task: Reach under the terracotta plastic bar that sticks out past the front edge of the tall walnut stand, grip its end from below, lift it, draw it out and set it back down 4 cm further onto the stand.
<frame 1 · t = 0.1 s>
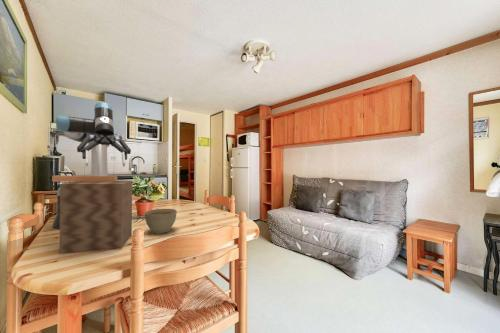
hand: (106, 164, 94), 36 cm above the table, tool tilted 35°, fingers open, 13 cm apart
planter bowl: (160, 231, 116), on the table
walnut stand: (99, 243, 98), on the table
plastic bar: (86, 181, 99), point 28 cm above the table, touching walnut stand
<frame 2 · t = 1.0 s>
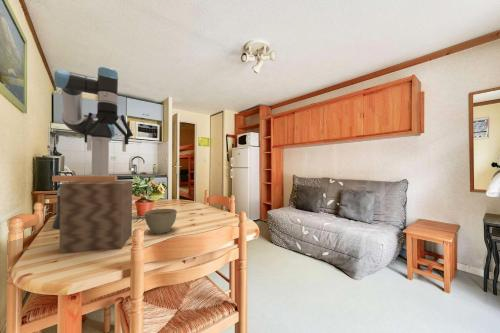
hand: (107, 151, 96), 42 cm above the table, tool pointing down, fingers open, 13 cm apart
nothing on the table moved.
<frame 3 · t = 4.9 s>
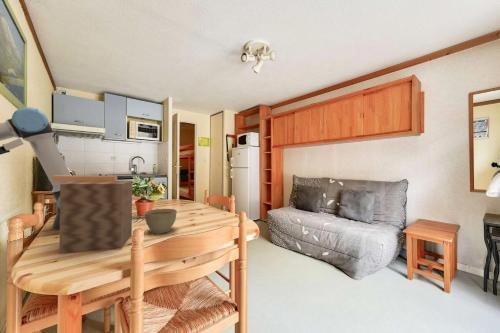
hand: (9, 139, 91), 46 cm above the table, tool pointing upward, fingers open, 13 cm apart
nothing on the table moved.
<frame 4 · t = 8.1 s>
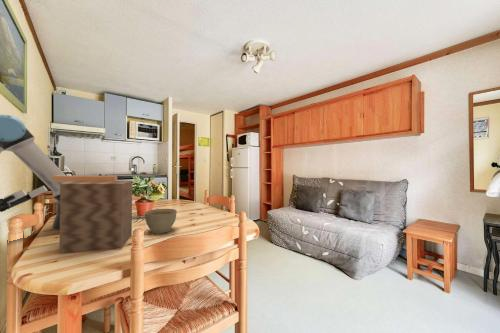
hand: (35, 190, 94), 24 cm above the table, tool pointing upward, fingers open, 13 cm apart
nothing on the table moved.
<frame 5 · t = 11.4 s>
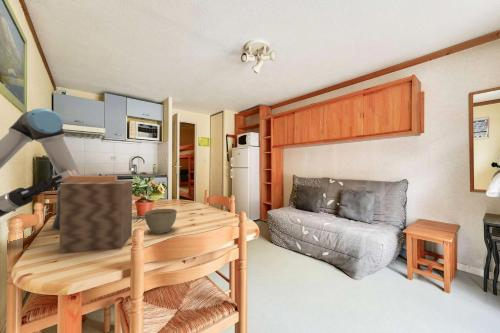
hand: (72, 172, 97), 32 cm above the table, tool pointing upward, fingers closed on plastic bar, 4 cm apart
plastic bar: (86, 181, 99), point 28 cm above the table, touching gripper, walnut stand
everything else where it was.
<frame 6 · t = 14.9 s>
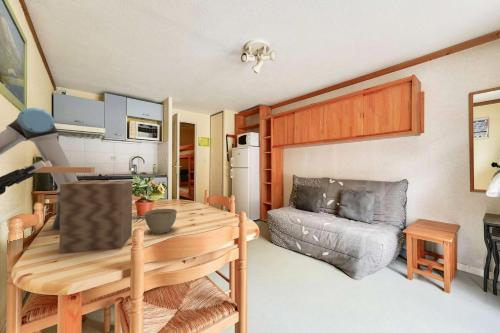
hand: (46, 163, 94), 36 cm above the table, tool pointing upward, fingers closed on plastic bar, 4 cm apart
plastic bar: (61, 172, 96), point 32 cm above the table, touching gripper
everything else where it was.
when the fingers open (33 cm above the table, at t = 18.5 s): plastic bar stays where it is, resting on walnut stand.
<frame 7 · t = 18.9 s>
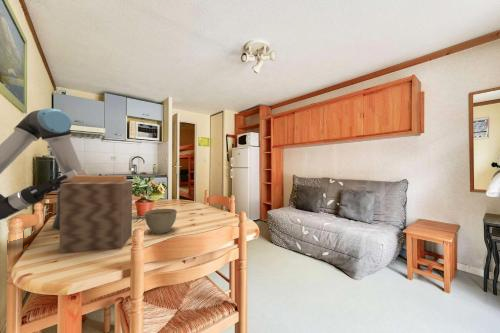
hand: (80, 172, 98), 32 cm above the table, tool pointing upward, fingers open, 9 cm apart
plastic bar: (96, 181, 100), point 28 cm above the table, touching walnut stand
everything else where it was.
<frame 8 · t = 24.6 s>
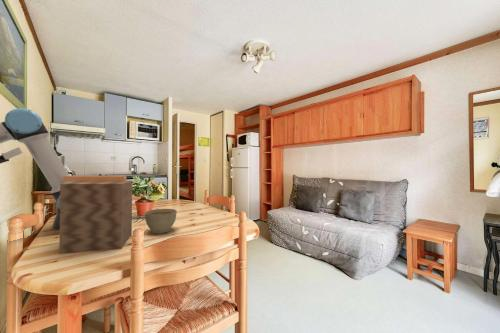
hand: (8, 149, 91), 42 cm above the table, tool pointing upward, fingers open, 13 cm apart
nothing on the table moved.
at the end: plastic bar 1.1 cm from the target spot, point 28.0 cm above the table; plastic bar tilted 0°; the gripper is holding nothing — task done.
